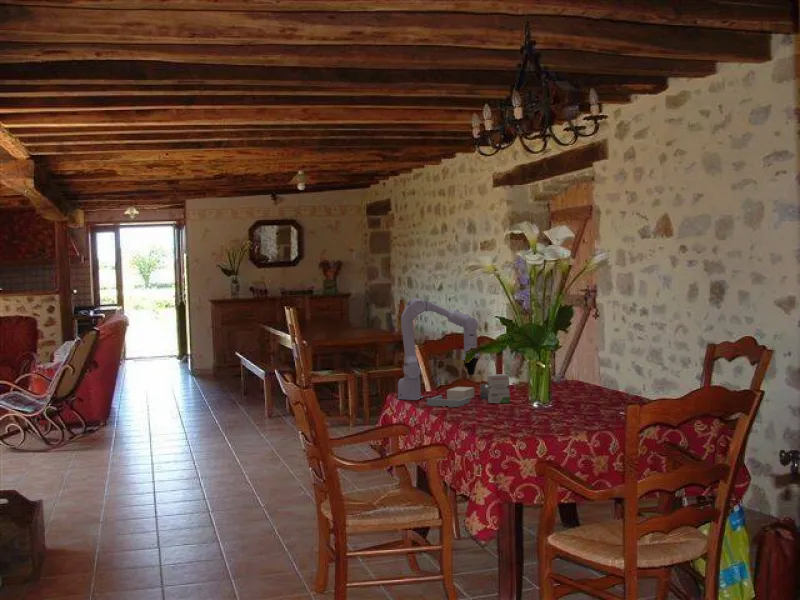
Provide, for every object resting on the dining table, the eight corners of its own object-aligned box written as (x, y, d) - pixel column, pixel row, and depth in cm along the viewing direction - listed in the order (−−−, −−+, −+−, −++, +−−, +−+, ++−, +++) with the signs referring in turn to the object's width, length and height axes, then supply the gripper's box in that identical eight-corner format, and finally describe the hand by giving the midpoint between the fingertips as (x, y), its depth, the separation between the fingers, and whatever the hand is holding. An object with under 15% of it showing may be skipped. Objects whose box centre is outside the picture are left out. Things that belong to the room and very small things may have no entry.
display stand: (427, 405, 367) (427, 398, 367) (440, 400, 378) (440, 393, 378) (457, 407, 361) (457, 400, 361) (470, 402, 372) (469, 395, 372)
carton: (447, 401, 378) (446, 389, 378) (458, 397, 387) (457, 386, 386) (463, 402, 374) (463, 391, 374) (474, 399, 382) (474, 387, 382)
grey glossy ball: (478, 399, 380) (478, 385, 379) (483, 397, 385) (483, 383, 385) (491, 400, 377) (491, 386, 376) (496, 398, 382) (496, 384, 382)
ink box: (507, 401, 374) (507, 373, 373) (510, 403, 369) (509, 375, 368) (487, 401, 373) (487, 374, 372) (489, 403, 368) (489, 375, 367)
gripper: (472, 346, 381) (472, 377, 382) (485, 342, 394) (485, 372, 394) (457, 345, 384) (458, 376, 385) (470, 342, 397) (471, 372, 398)
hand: (471, 374), depth 390 cm, fingers closed
